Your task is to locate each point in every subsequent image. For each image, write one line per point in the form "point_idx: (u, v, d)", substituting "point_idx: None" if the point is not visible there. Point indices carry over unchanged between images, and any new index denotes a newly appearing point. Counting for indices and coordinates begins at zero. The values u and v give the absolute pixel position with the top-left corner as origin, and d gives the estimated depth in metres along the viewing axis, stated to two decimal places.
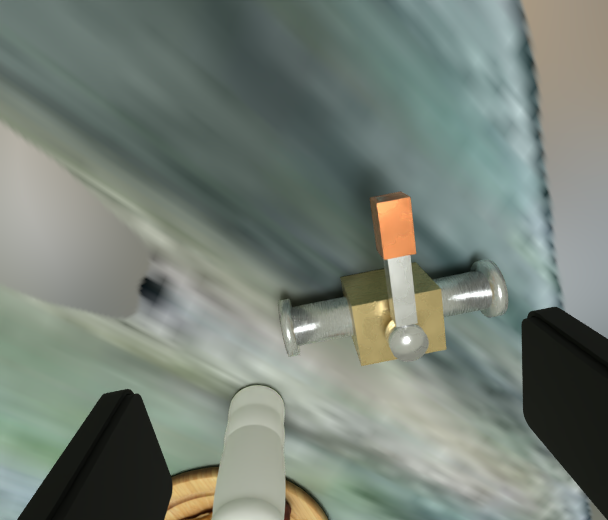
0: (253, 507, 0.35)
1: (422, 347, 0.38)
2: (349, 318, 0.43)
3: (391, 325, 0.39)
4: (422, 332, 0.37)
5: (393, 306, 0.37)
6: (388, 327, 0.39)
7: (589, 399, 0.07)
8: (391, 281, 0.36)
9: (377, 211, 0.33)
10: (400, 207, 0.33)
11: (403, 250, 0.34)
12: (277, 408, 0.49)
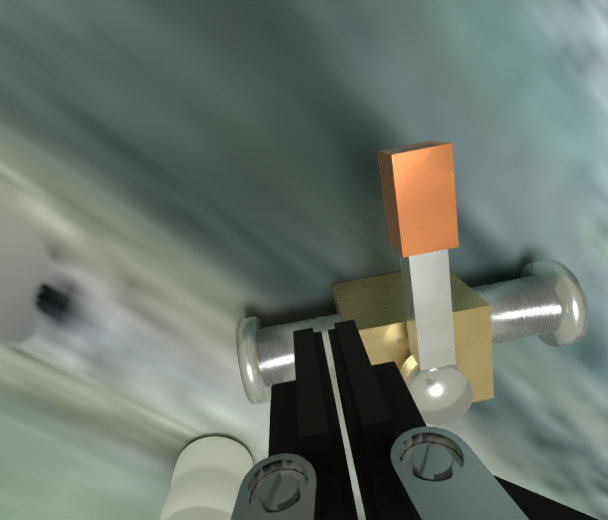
0: None
1: (462, 402, 0.23)
2: None
3: (411, 364, 0.24)
4: (463, 378, 0.23)
5: (416, 336, 0.22)
6: (406, 367, 0.24)
7: (342, 401, 0.08)
8: (414, 294, 0.21)
9: (392, 170, 0.19)
10: (433, 162, 0.18)
11: (437, 241, 0.20)
12: (241, 473, 0.34)
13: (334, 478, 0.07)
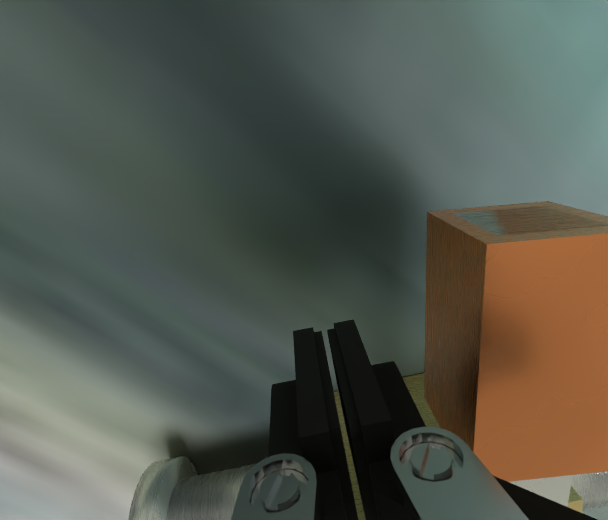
0: None
1: None
2: None
3: None
4: None
5: None
6: None
7: (342, 401, 0.08)
8: None
9: (478, 281, 0.07)
10: (596, 275, 0.07)
11: (560, 456, 0.08)
12: None
13: (334, 478, 0.07)
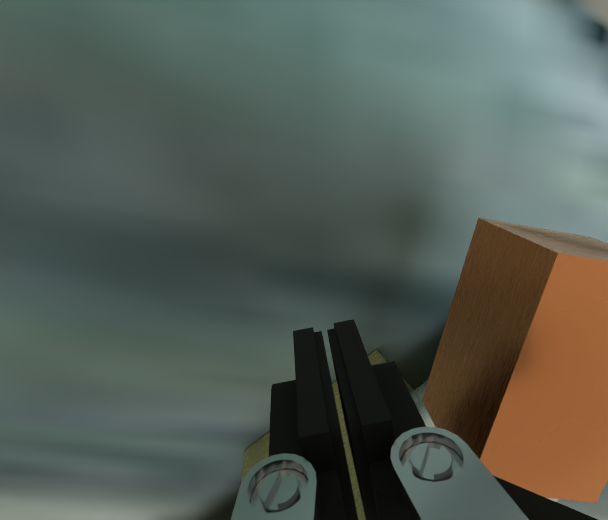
0: None
1: None
2: None
3: None
4: None
5: None
6: None
7: (342, 401, 0.08)
8: None
9: (535, 288, 0.07)
10: None
11: (557, 478, 0.08)
12: None
13: (334, 478, 0.07)
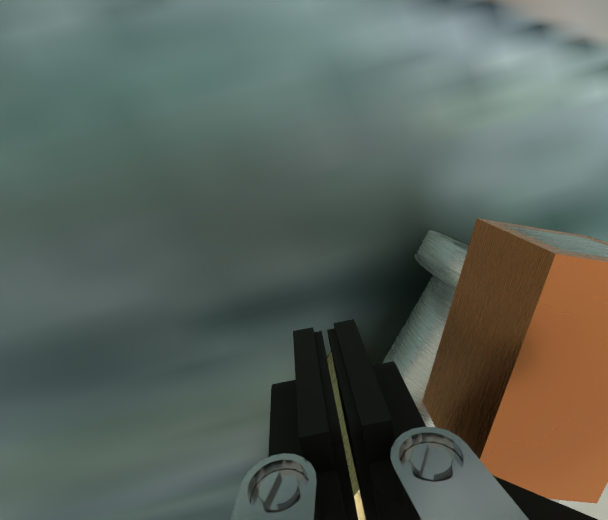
0: None
1: None
2: None
3: None
4: None
5: None
6: None
7: (342, 401, 0.08)
8: None
9: (533, 289, 0.07)
10: None
11: (558, 479, 0.08)
12: None
13: (334, 478, 0.07)
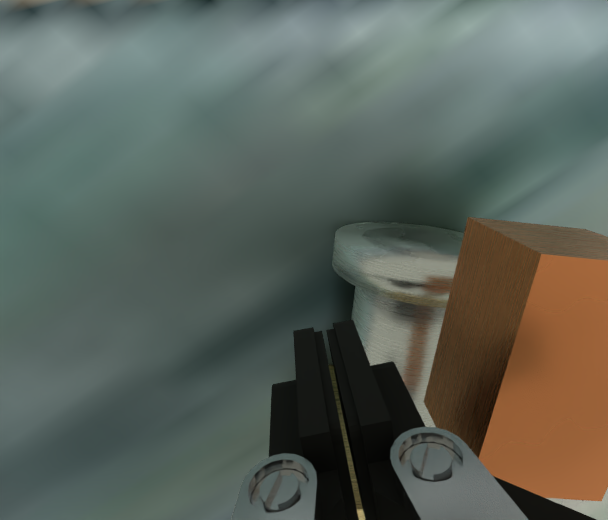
0: None
1: None
2: None
3: None
4: None
5: None
6: None
7: (341, 401, 0.08)
8: None
9: (522, 290, 0.07)
10: None
11: (559, 478, 0.08)
12: None
13: (335, 478, 0.07)
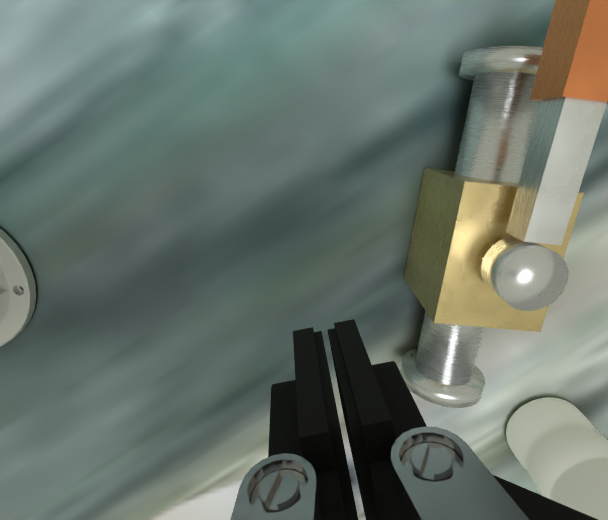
0: None
1: (551, 291, 0.22)
2: None
3: (504, 244, 0.23)
4: (563, 264, 0.21)
5: (533, 201, 0.20)
6: (496, 247, 0.23)
7: (342, 400, 0.08)
8: (552, 149, 0.19)
9: None
10: None
11: (603, 88, 0.18)
12: (554, 420, 0.34)
13: (334, 478, 0.07)
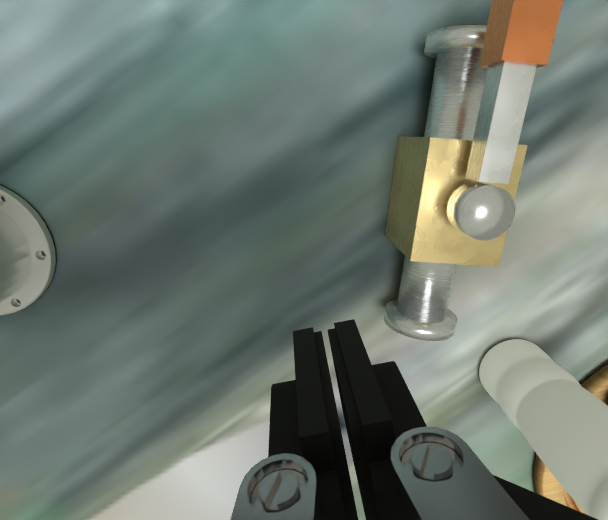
0: None
1: (503, 223, 0.26)
2: None
3: (464, 187, 0.27)
4: (510, 199, 0.26)
5: (484, 147, 0.25)
6: (458, 191, 0.28)
7: (342, 401, 0.08)
8: (496, 104, 0.24)
9: None
10: None
11: (532, 53, 0.23)
12: (519, 355, 0.39)
13: (334, 478, 0.07)
